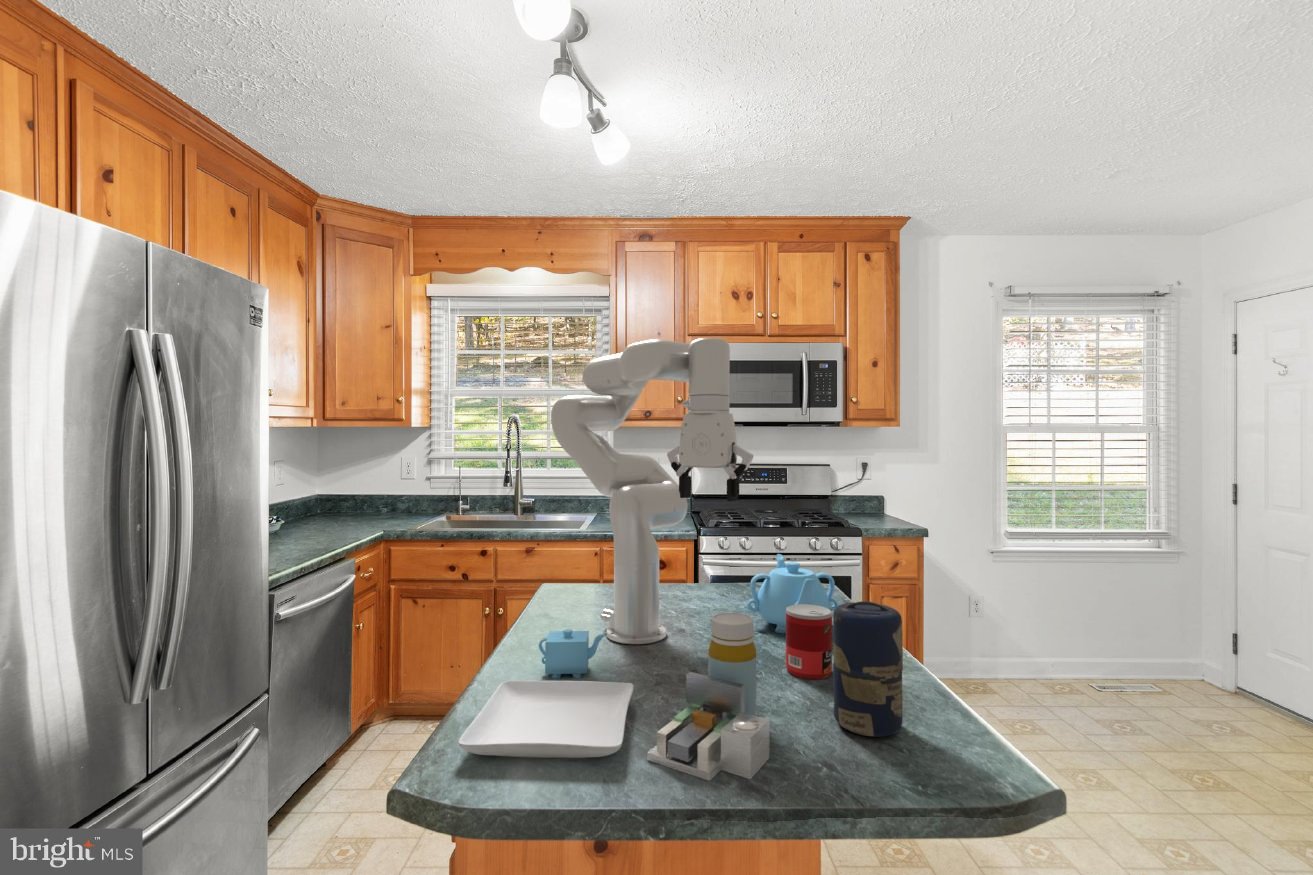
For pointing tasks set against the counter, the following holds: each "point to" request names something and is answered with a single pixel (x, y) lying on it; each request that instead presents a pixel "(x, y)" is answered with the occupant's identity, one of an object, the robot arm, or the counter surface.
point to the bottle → (734, 653)
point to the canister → (868, 668)
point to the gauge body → (718, 746)
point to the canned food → (809, 641)
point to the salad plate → (551, 720)
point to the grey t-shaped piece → (705, 711)
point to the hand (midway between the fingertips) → (708, 499)
